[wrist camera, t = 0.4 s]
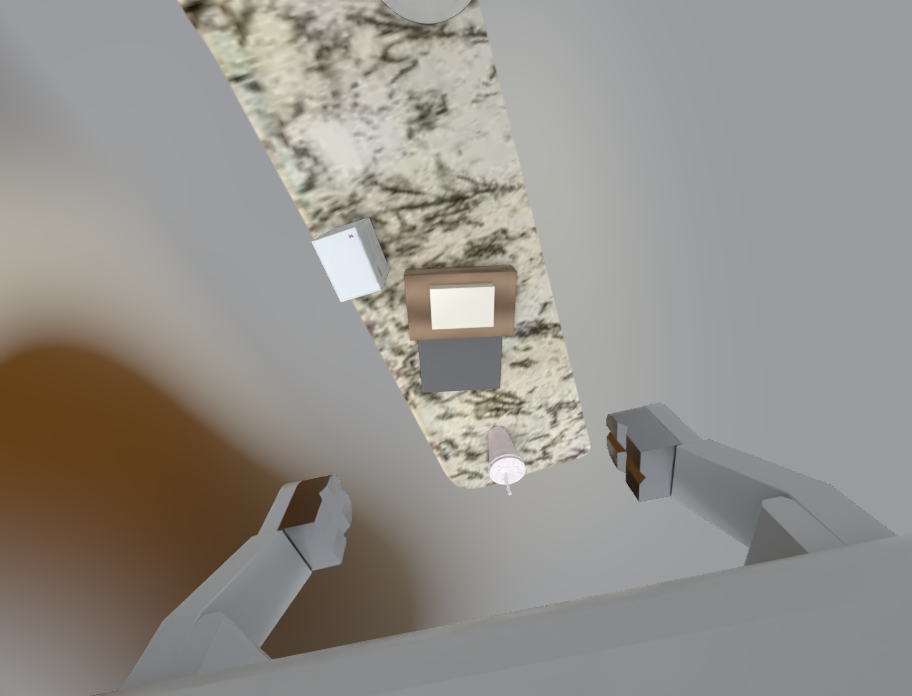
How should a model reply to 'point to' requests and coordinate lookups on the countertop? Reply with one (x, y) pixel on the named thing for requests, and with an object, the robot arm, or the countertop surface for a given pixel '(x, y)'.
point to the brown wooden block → (423, 278)
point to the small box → (352, 259)
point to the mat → (460, 363)
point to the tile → (462, 305)
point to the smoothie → (504, 459)
